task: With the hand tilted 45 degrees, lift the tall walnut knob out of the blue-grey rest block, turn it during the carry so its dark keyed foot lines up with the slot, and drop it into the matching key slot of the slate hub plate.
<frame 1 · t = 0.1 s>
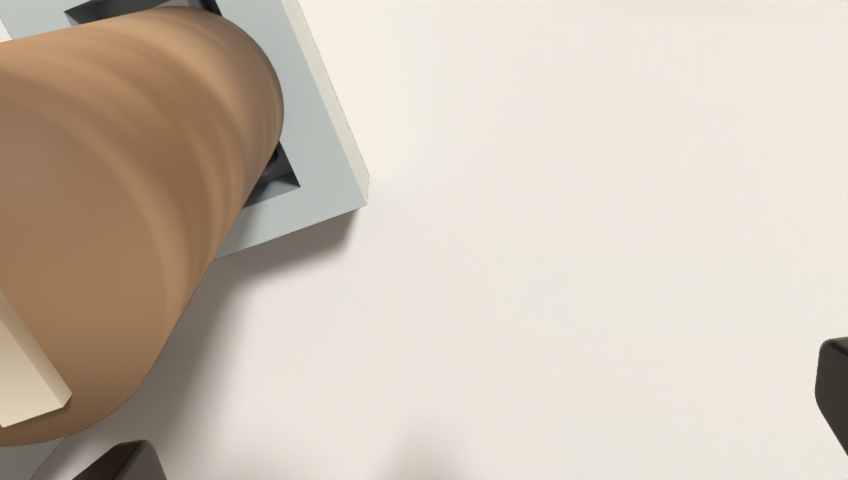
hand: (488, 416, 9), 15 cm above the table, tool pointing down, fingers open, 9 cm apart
rest block: (214, 85, 21), on the table
knob: (206, 91, 20), point 1 cm above the table, touching rest block
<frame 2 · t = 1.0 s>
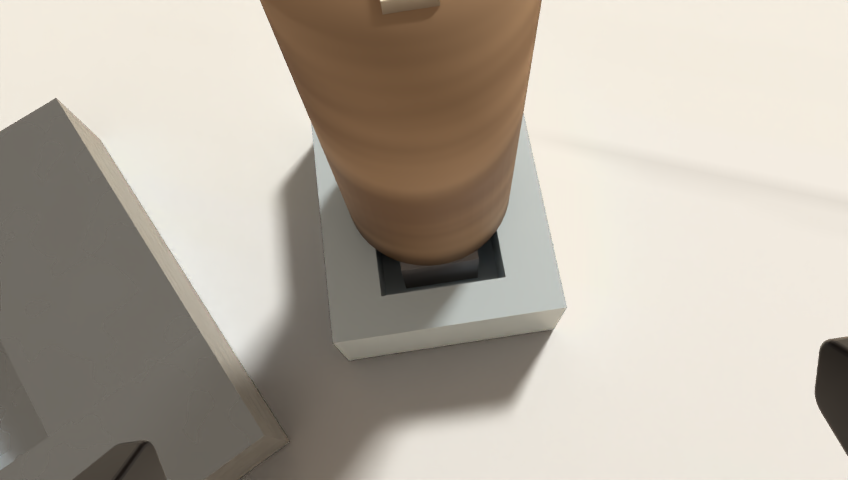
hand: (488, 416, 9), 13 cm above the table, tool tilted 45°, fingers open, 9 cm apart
rest block: (431, 222, 24), on the table
hub plate: (9, 395, 23), on the table
knob: (430, 211, 23), point 1 cm above the table, touching rest block
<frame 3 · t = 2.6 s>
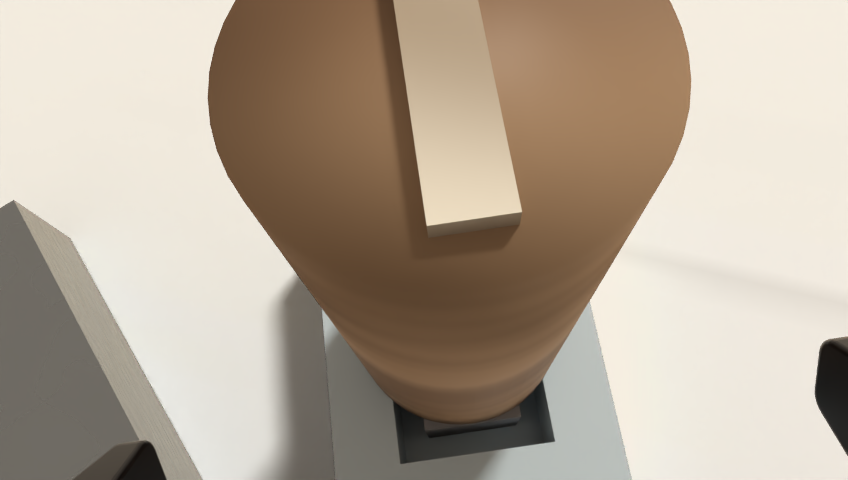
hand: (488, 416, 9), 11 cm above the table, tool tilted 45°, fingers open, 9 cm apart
rest block: (458, 347, 20), on the table
knob: (457, 339, 19), point 1 cm above the table, touching rest block
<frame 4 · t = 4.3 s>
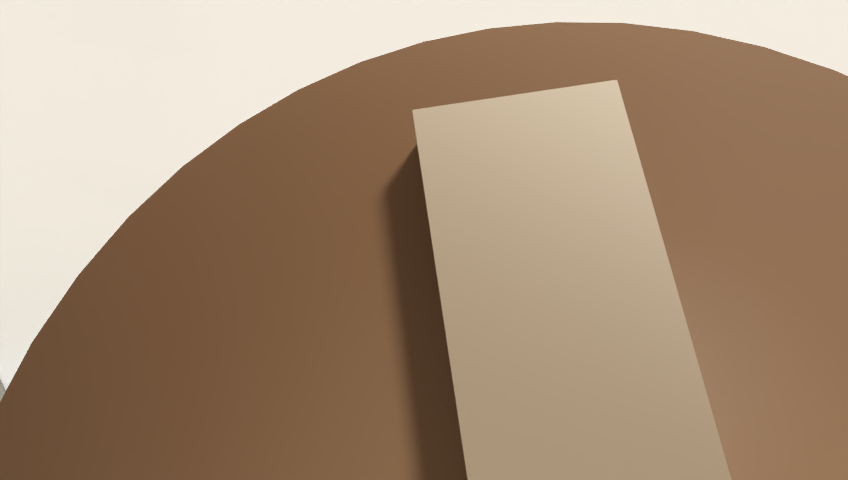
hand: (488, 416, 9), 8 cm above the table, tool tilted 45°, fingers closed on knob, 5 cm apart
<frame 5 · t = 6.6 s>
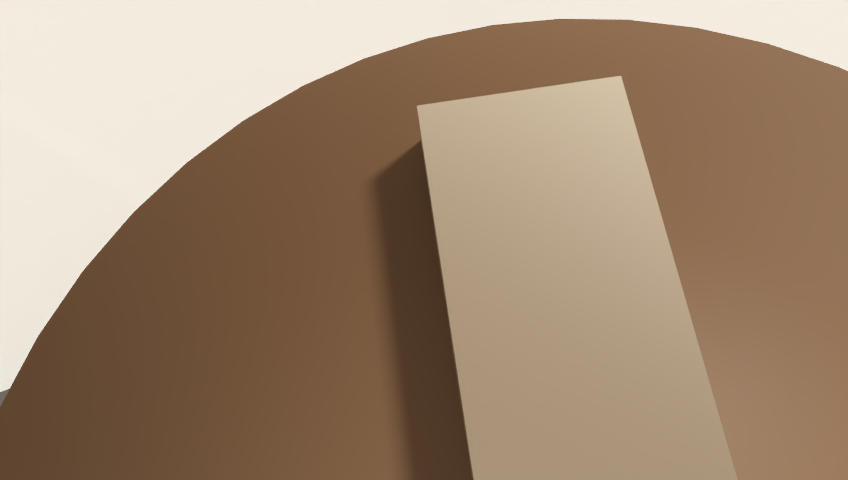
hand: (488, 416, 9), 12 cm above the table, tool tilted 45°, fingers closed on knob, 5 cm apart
when the fingers open (10 cm above the table, at t = 9.2 s): knob drops 2 cm, resting on hub plate.
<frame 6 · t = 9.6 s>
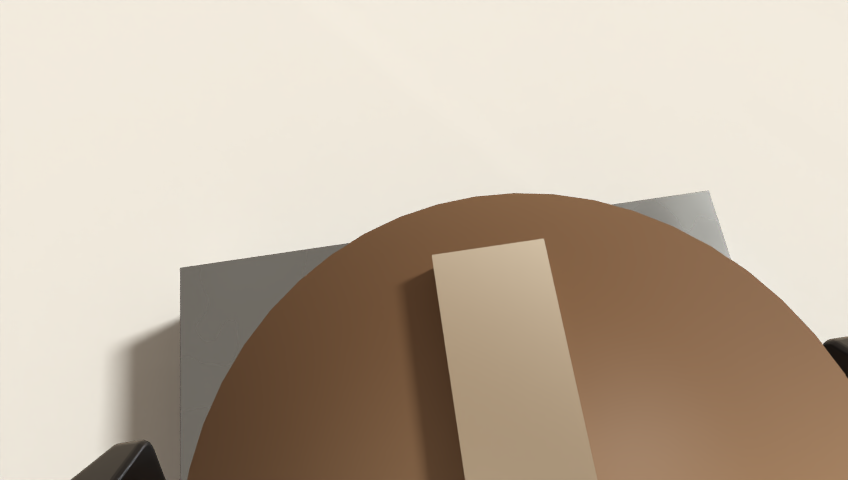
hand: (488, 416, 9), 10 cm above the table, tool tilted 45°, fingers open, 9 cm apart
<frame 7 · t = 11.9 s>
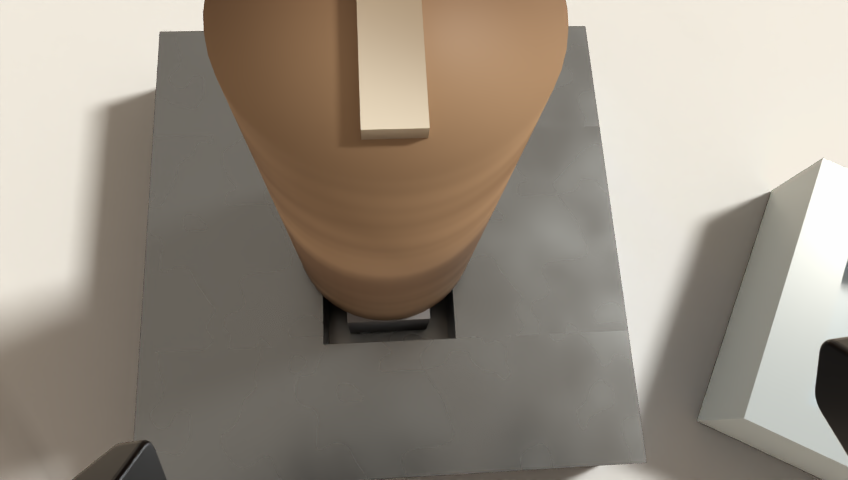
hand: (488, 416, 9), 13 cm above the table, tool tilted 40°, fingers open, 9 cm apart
rest block: (831, 342, 23), on the table
hub plate: (385, 257, 23), on the table
knob: (385, 252, 22), point 1 cm above the table, touching hub plate
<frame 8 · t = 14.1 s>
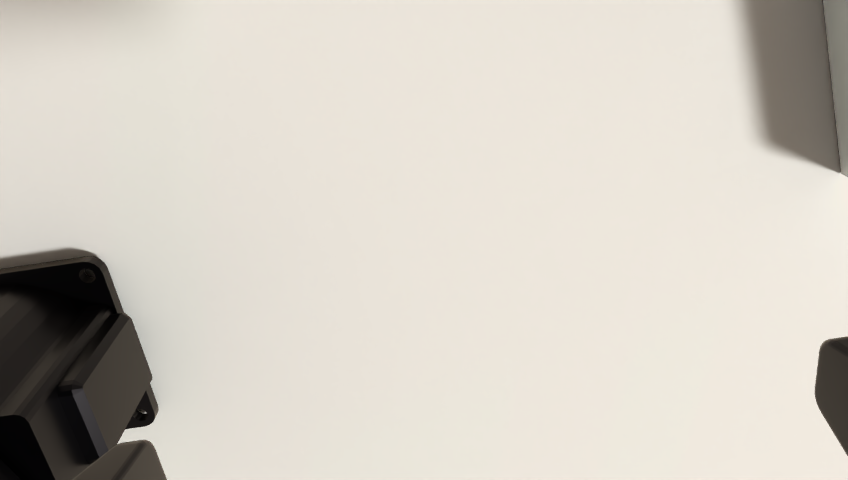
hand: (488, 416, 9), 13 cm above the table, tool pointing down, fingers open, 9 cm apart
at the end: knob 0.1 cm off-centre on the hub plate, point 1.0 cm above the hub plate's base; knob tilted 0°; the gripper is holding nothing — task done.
